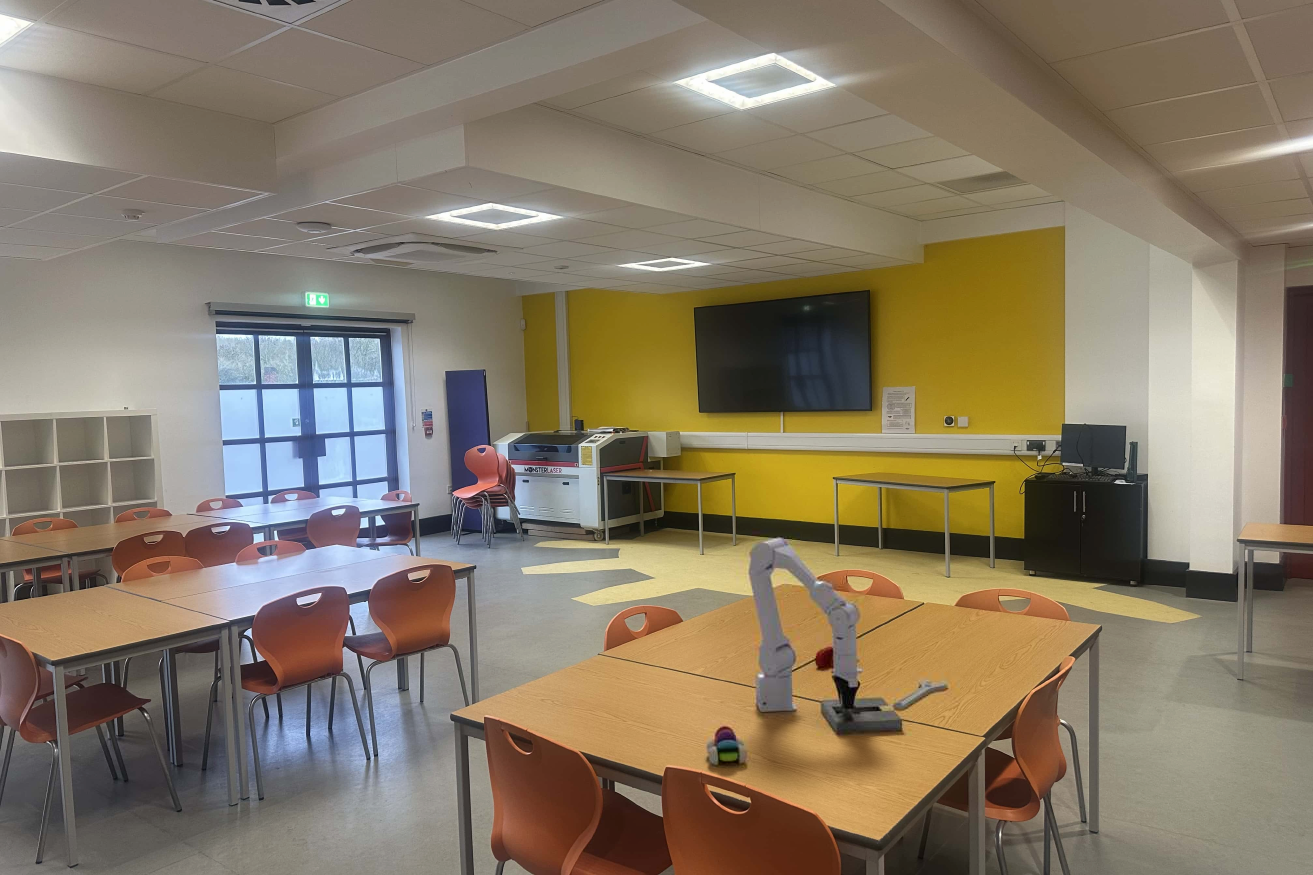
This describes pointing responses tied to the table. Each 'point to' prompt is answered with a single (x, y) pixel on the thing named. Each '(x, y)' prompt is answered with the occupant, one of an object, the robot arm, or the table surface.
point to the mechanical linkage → (825, 658)
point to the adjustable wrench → (919, 693)
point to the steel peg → (845, 712)
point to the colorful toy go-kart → (726, 747)
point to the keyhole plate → (862, 716)
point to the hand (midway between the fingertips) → (846, 706)
